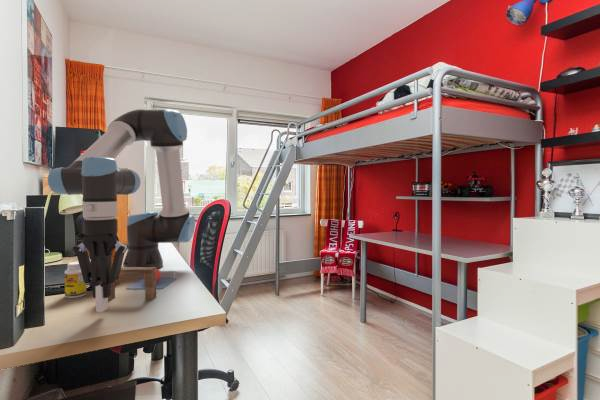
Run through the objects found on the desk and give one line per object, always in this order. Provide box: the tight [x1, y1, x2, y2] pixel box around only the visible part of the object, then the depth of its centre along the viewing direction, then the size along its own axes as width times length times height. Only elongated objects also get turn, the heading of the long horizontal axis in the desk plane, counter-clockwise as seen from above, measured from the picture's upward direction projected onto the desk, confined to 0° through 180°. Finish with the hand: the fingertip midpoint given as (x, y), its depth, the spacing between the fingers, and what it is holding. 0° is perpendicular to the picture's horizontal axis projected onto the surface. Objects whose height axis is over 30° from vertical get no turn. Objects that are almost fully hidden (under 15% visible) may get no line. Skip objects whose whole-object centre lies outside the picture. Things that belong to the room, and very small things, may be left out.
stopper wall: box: [159, 270, 176, 279], centre depth 119 cm, size 2×10×2 cm, turn 91°
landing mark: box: [125, 277, 177, 290], centre depth 112 cm, size 12×12×1 cm
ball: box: [143, 268, 161, 282], centre depth 112 cm, size 6×6×6 cm
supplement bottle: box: [64, 261, 88, 299], centre depth 99 cm, size 6×6×10 cm
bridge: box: [108, 266, 157, 302], centre depth 96 cm, size 3×14×9 cm, turn 91°
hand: (102, 309), depth 82 cm, fingers closed
